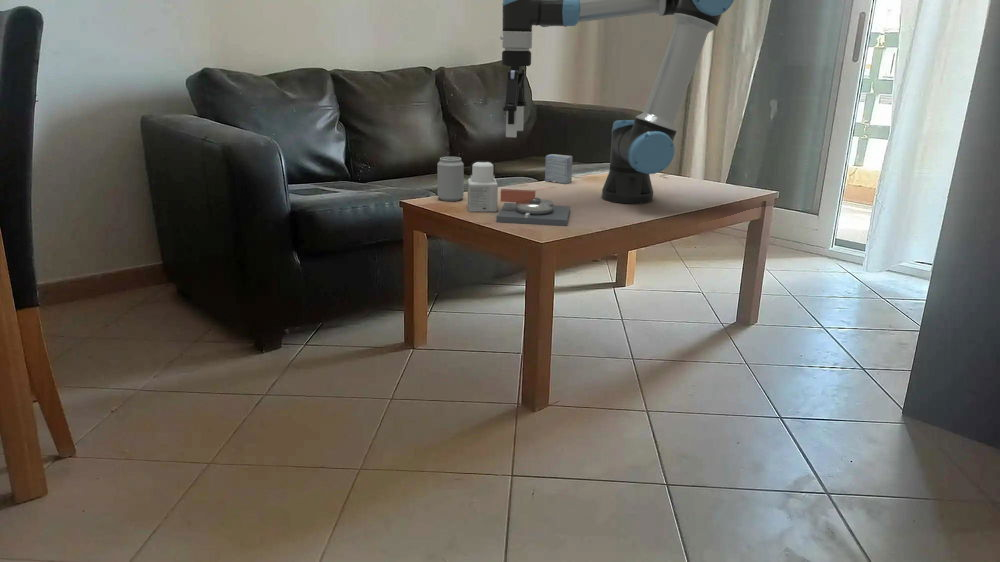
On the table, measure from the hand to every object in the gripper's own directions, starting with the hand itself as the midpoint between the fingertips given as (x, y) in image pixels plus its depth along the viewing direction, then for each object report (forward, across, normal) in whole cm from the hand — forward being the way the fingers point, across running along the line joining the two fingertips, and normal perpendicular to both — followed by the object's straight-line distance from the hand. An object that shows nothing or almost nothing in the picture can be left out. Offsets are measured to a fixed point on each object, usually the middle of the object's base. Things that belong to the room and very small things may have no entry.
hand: (514, 133), depth 191 cm
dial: (+19, +6, +5) cm, 20 cm away
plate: (+21, +6, +7) cm, 23 cm away
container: (+21, +1, -8) cm, 22 cm away
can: (+21, -9, -20) cm, 30 cm away
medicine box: (+21, -44, +9) cm, 49 cm away
